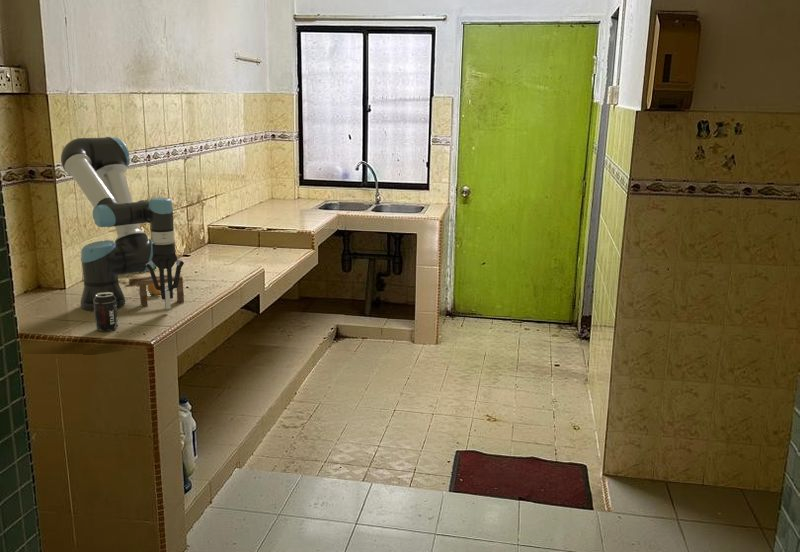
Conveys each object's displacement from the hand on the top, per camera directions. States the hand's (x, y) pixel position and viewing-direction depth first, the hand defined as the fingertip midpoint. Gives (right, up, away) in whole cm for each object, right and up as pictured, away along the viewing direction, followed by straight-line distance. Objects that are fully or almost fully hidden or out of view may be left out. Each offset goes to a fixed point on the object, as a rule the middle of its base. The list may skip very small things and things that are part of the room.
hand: (167, 307), depth 250 cm
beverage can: (-14, -6, -18) cm, 24 cm away
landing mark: (-14, +5, +27) cm, 31 cm away
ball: (-12, +7, +23) cm, 27 cm away
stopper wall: (-21, +8, +41) cm, 47 cm away
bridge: (-6, +1, +12) cm, 13 cm away
